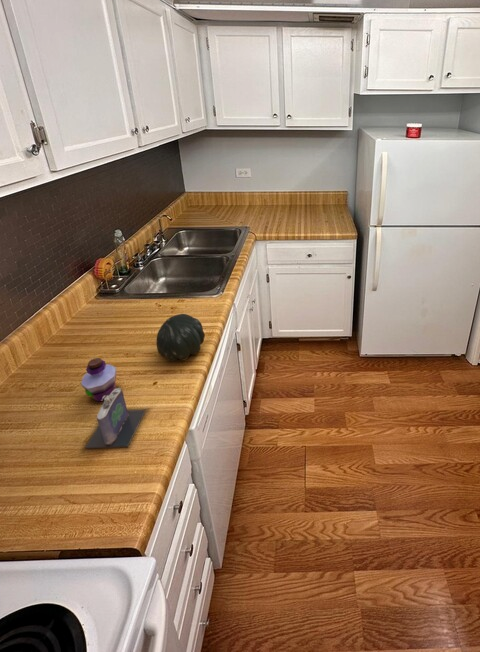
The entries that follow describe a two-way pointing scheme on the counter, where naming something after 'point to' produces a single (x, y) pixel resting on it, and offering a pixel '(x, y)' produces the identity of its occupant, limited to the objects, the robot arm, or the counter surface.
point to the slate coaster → (124, 434)
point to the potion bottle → (99, 379)
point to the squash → (180, 337)
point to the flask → (112, 415)
